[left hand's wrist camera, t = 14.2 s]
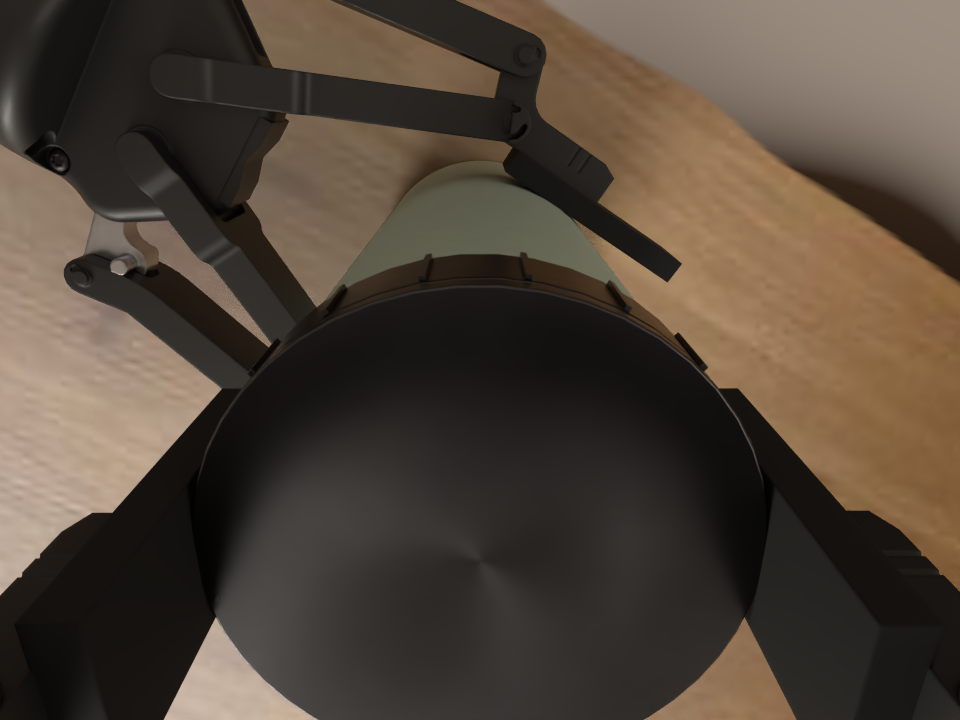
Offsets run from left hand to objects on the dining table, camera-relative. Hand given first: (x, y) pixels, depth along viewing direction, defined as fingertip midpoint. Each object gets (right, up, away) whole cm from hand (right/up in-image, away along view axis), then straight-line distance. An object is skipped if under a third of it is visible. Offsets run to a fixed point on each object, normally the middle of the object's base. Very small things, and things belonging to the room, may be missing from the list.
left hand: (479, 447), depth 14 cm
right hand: (+4, +2, +11) cm, 11 cm away
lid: (0, -1, -3) cm, 3 cm away
